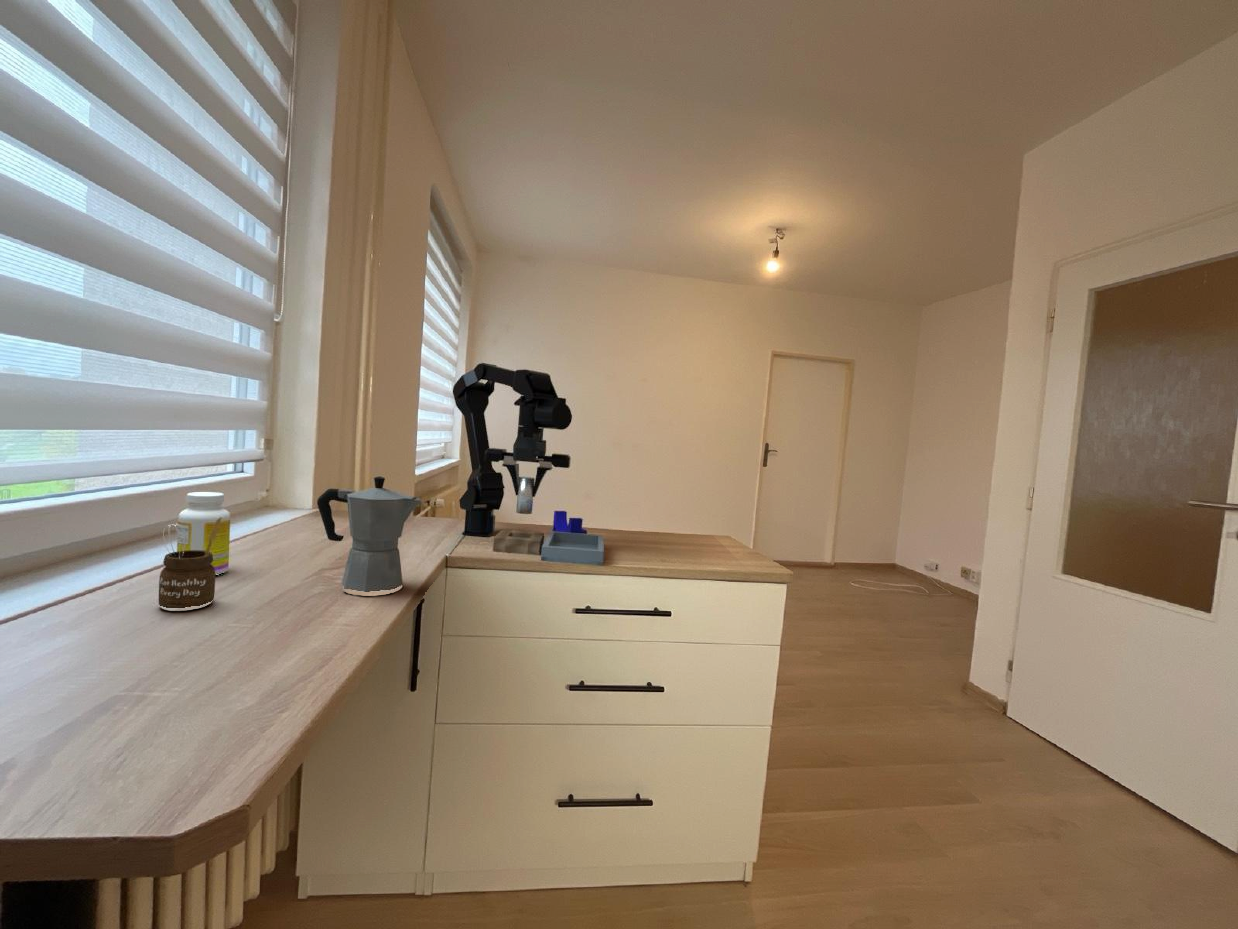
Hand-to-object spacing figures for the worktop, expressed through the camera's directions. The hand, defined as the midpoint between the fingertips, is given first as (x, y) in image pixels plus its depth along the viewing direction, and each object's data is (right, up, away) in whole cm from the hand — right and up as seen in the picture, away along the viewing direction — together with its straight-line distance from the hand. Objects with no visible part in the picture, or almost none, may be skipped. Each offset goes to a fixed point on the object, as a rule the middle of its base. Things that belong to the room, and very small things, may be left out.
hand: (525, 495), depth 124 cm
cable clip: (+8, -12, +19) cm, 24 cm away
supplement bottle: (-45, -11, -37) cm, 59 cm away
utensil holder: (-37, -12, -51) cm, 64 cm away
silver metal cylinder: (0, -4, 0) cm, 4 cm away
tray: (+11, -13, 0) cm, 17 cm away
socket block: (-2, -12, +1) cm, 12 cm away
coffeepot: (-19, -13, -37) cm, 44 cm away
